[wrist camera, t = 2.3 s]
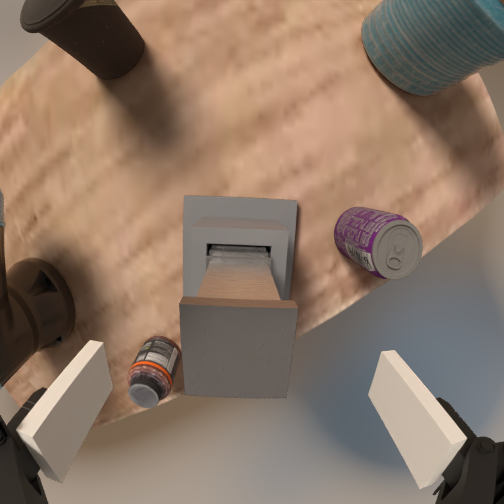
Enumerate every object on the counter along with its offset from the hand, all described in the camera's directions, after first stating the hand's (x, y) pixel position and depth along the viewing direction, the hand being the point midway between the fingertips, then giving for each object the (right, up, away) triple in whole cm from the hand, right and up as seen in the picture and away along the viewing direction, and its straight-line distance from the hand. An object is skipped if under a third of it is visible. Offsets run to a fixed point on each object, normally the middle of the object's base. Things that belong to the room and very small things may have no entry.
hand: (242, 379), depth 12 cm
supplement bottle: (-13, -9, +29) cm, 33 cm away
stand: (-1, +6, +26) cm, 27 cm away
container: (-19, +34, +19) cm, 43 cm away
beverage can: (+15, +8, +27) cm, 31 cm away
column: (-1, +5, +24) cm, 25 cm away
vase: (+24, +37, +21) cm, 49 cm away
